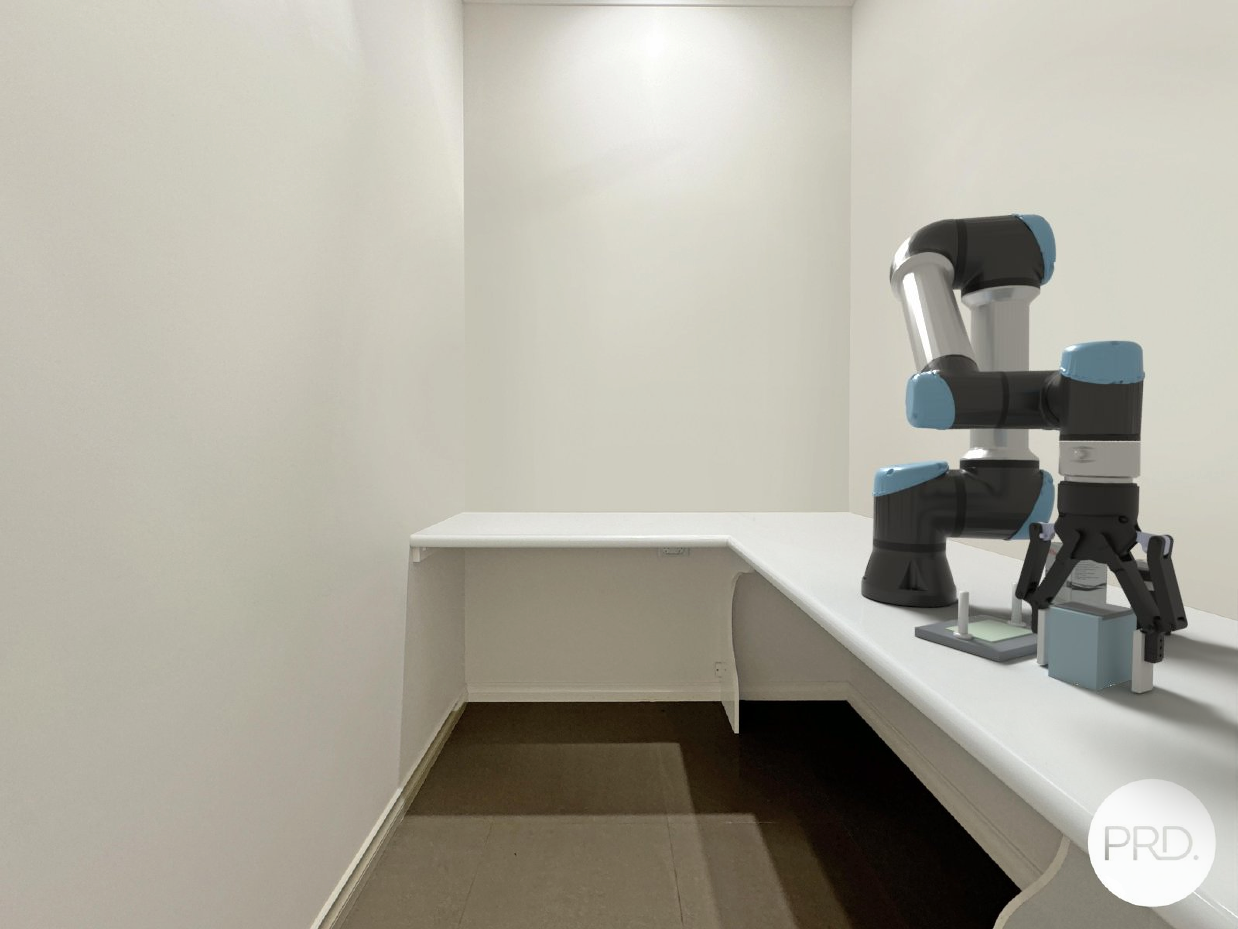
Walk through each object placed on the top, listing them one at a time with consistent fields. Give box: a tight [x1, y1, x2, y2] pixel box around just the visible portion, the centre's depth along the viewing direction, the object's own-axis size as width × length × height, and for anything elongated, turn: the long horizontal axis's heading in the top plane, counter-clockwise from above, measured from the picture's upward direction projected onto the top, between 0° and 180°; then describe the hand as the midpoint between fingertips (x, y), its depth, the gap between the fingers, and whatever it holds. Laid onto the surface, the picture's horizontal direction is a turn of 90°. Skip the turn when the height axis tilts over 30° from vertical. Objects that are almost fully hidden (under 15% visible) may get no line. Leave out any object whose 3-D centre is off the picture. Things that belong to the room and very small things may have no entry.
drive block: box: [1047, 599, 1137, 691], centre depth 75 cm, size 5×8×8 cm, turn 118°
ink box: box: [1044, 541, 1108, 608], centre depth 97 cm, size 8×5×12 cm, turn 168°
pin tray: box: [914, 581, 1038, 663], centre depth 89 cm, size 12×15×7 cm
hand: (1091, 675), depth 75 cm, fingers open, 9 cm apart
